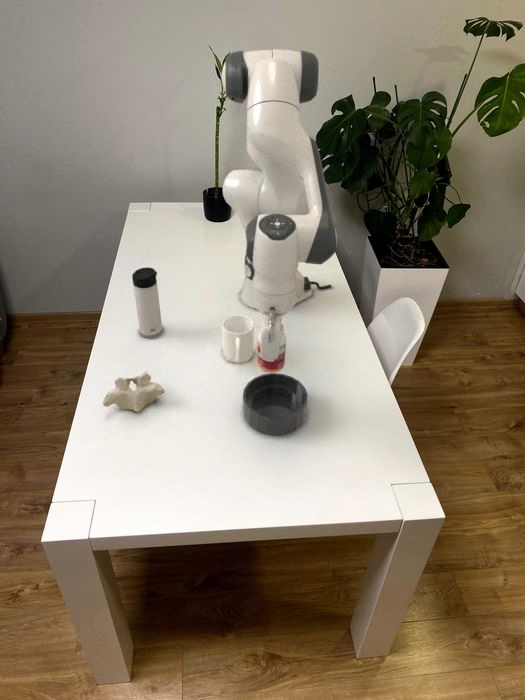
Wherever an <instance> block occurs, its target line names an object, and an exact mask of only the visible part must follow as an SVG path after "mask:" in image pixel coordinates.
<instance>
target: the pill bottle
mask: <svg viewBox="0 0 525 700" xmlns="http://www.w3.org/2000/svg"><path fill="white" fill-rule="evenodd" d="M284 326H285V325H284V324H283V322H282V323H281V335H280V346H279V356H278V359H276V360H274V361H267V360H266V359H262V358H261V356H260V348H261V331H259V333H258V335H257V353H256V355H257V356H256V364H257V367H258V369H259V370H260V371H262V372H264V373H265V374H270V373H277V374H278V373H279V372H281V371H282V370H283V369H284V367H285V363H286V352H287V351H286V350H287V349H286V348H287V334H286V333H285V327H284Z"/></svg>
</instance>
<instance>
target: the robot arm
mask: <svg viewBox="0 0 525 700" xmlns="http://www.w3.org/2000/svg"><path fill="white" fill-rule="evenodd" d="M321 81H322V71H321V66H320V63H319V59H318V57H317V56H316V55H315V53H313V52H310V51H306V50H300V51H297V50H290V49H283V48H282V49H281V48H279V49H278V48H272V49H259V50H258V49H257V50H249V51H244V50H236V51H233V52H230V53H229V54H228V55H227V56H226V58H225V61H224V64H223V66H222V70H221V83H222V88H223V90H224V92H225V95H226V97H227V99H229V100H230V101H232V102H233V103H237V104H242V105H243V104H244V103H246V151H247V155H248V156H249V158H250V160H252V161H253V163H255V164H256V165H257V166H258V167H259V168H260V170H261V171H258V170H253V169H233V170H231V171H230V172H229V173H228V174H227V175H226V177H225V178H224V180H223V183H222V196H223V198H224V200H225V202H226V204H228V205H229V206H230V207H231V208H232V210H233V211H234V212H235V214H236V216H237V217H238V219H239V220H240V223H241V225H242V227H243V231H244V235H245V236H244V237H245V255H244V281H243V285H242V289H241V292H240V299H241V301H242V302H243V303H244V304H245V306H248V307H250V308H253V309H256V310H258V311H259V313H260V314H261V315H262V323H261V329H260V332H261V348H260V356H261V358H262V359H266V360H267V361H274V360H276V359H278V356H279V346H280V335H281V323H282V324H283V316H285V315H287V314H288V313H289V312H290V311H291V310H292V309H294V307H295V305H296V304H297V303H300V302H302V301H303V300H305V299H308V298H309V297H311V296H312V285H315V286H316V288H317V289H318V290H326V289H330V288H332V284H326V285H324V286H320V283H318V282H317V281H313V280H310V279H309V278H308V276H304V275H303V274H302V272H301V271H300V270H299V269H298V268H299V263H305V264H310V265H311V264H312V265H322V264H324V263H326V262H327V261H328V260H330V259H331V258H332V257H333V256H334V255H335V254H336V250H337V245H338V234H337V233H338V232H337V229H336V226H335V222H334V218H333V214H332V211H331V206H330V201H329V196H328V195H329V194H328V190H327V184H326V179H325V173H324V168H323V164H322V159H321V155H320V150H319V148H318V145H317V142H316V139H314V138H312V137H311V136H309V135H308V133H307V132H306V130H305V129H304V127H303V124H302V122H301V107H300V106H301V105H300V104H305V103H308V102H311V101H313V99H315V97H316V96H317V94H318V91H319V88H320V85H321Z"/></svg>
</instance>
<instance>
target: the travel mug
mask: <svg viewBox="0 0 525 700" xmlns="http://www.w3.org/2000/svg"><path fill="white" fill-rule="evenodd" d="M157 276H158V272H157V271H156V269H154V268H153V267H141V268H138V269H136V270H135V271H134V272H133V273H132V275H131V278H132V286H133V294H134V299H135V300H134V301H135V308H136V313H137V319H138V326H139V333H140V335H141V336H142V337H144V338H147V339H155V338H157V337H159V336H160V335H162V333H163V324H162V315H161V313H162V312H161V306H160V305H161V304H160V297H159V287H158V280H157Z"/></svg>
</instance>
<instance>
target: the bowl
mask: <svg viewBox="0 0 525 700" xmlns="http://www.w3.org/2000/svg"><path fill="white" fill-rule="evenodd" d="M308 395H309V394H308V392H307V390H306V387H305V386H304V384H302V382H301V381H299V380H298V379H296V378H295V377H293V376H291V375H287V374H284V373H278V372H277V373H263V374H261V375H258V376H255V377H254V378H253V379H251V380H249V381H248V382H247V383H246V385H245V387H244V388H243V393H242V414H243V419H244V420H245V421H246V423H247V424H248V425H249V426H250V427H251V428H252V429H254V430H256V431H257V432H259V433H262V434H266V435H272V436H273V435H274V436H278V435H287V434H289V433H291V432H294V431H296V430H297V429H298V428H300V427H301V426H302V425H303V424H304V421H305V419H306V417H307V408H308V397H309V396H308Z"/></svg>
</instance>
